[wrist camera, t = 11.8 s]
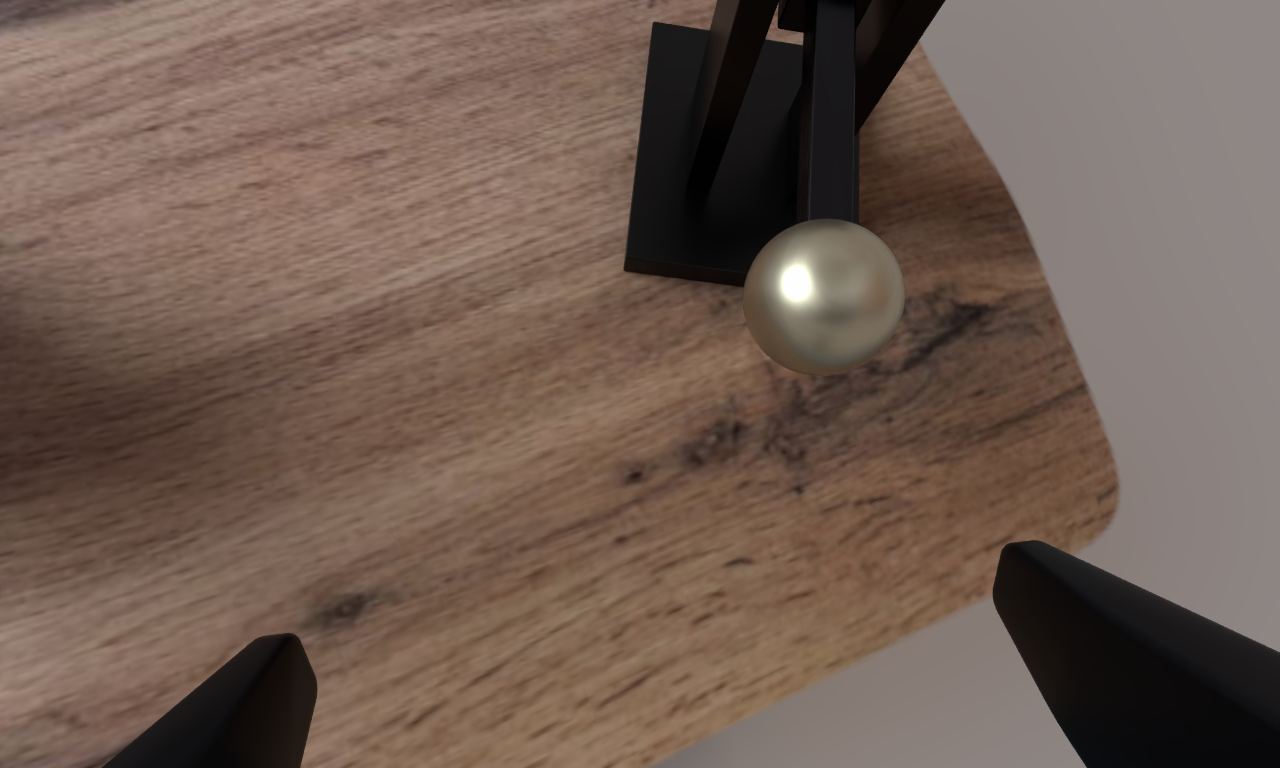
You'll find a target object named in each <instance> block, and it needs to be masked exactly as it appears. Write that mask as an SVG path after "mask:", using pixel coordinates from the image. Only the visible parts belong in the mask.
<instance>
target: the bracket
mask: <svg viewBox="0 0 1280 768" xmlns="http://www.w3.org/2000/svg"><path fill="white" fill-rule="evenodd" d="M778 2H779V0H717V4H716V8H715V12H714V16H713V20H712V24H711V28H710V31H709V30H703V29H697V28H690V27H684V26H678V25H672V24H665V23H659V22H653V26H652V33H651V40H650V48H649V57H648V65H647V74H646V82H645V91H644V99H643V108H642V116H641V125H640V133H639V142H638V150H637V159H636V167H635V176H634V185H633V193H632V202H631V210H630V219H629V227H628V236H627V244H626V253H625V261H624V271H630V272H637V273H645V274H652V275H660V276H667V277H675V278H682V279H690V280H697V281H705V282H712V283H720V284H727V285H735V286H742V287H744V285H745V281H746V277H747V274H748V272H749V270H750V267H751V265H752V263H753V261H754V260H755V258H756V256H757V255H758V254H759V252H760V251H761V250H762V249H763V248H764V246H765V245H766V244H767V243H768V242H769V241H770V240H772V239H773V238H774V237H775V236H777V235H778V234H779V233H781V232H782V231H784V230H786V229H788V228H790V227H792V226H794V225H796V203H797V179H798V155H799V132H800V108H801V85H802V61H803V45H797V44H791V43H785V42H779V41H772V40H766V39H765V38H766V35H767V32H768V30H769V27H770V24H771V21H772V19H773V16H774V13H775V10H776V8H777V5H778ZM944 2H945V0H872V1H871V3H870V5H869V7H868V9H867V11H866V13H865V14H864V16H863V18H862V20H861V22H860V24H859V26H858V27H857V29H856V55H855V115H854V176H853V223H854V224H857V225H859V130H860V128H861V127H862V125H863V124H864V122H865V121H866V119H867V118H868V116H869V115H870V113H871V112H872V110H873V109H874V107H875V106H876V104H877V103H878V101H879V100H880V98H881V97H882V95H883V94H884V92H885V91H886V89H887V88H888V86H889V85H890V83H891V82H892V80H893V79H894V77H895V76H896V74H897V73H898V71H899V70H900V68H901V67H902V65H903V64H904V62H905V61H906V59H907V58H908V56H909V55H910V53H911V52H912V50H913V48H914V47H915V45H916V44H917V42H918V41H919V39H920V38H921V36H922V35H923V33H924V32H925V30H926V29H927V27H928V26H929V24H930V23H931V21H932V20H933V18H934V17H935V15H936V14H937V12H938V11H939V9H940V8H941V6H942V5H943V3H944Z"/></svg>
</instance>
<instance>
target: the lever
mask: <svg viewBox="0 0 1280 768" xmlns="http://www.w3.org/2000/svg"><path fill="white" fill-rule="evenodd" d="M871 1H872V0H779V7H778V28H779V29H784V30H790V31H796V32H802V33H804V37H803V61H802V85H801V108H800V132H799V155H798V179H797V203H796V225H794V226H792V227H790V228H788V229H786V230H784V231H782V232H781V233H779V234H778V235H777V236H775V237H774V238H773V239H772V240H770V241H769V242H768V243H767V244H766V245H765V246H764V248H763V249H762V250H761V251H760V252H759V254H758V255H757V256H756V258H755V260H754V261H753V263H752V265H751V267H750V270H749V272H748V274H747V277H746V281H745V285H744V293H743V309H744V315H745V319H746V323H747V326H748V328H749V331H750V333H751V335H752V337H753V338H754V340H755V342H756V343H757V344H758V346H759V347H760V348H761V350H762V351H763V352H764V353H765V354H766V355H767V356H769V357H770V358H771V359H772V360H774V361H775V362H776V363H778V364H780V365H781V366H783V367H785V368H787V369H789V370H792V371H795V372H798V373H802V374H808V375H816V376H826V375H835V374H840V373H844V372H847V371H850V370H853V369H855V368H857V367H859V366H861V365H863V364H865V363H866V362H868V361H869V360H871V359H872V358H873V357H875V356H876V355H877V354H878V353H879V352H880V351H881V350H882V349H883V348H884V347H885V346H886V345H887V343H888V342H889V341H890V339H891V338H892V336H893V335H894V333H895V331H896V329H897V328H898V325H899V322H900V320H901V317H902V314H903V309H904V301H905V286H904V280H903V275H902V272H901V269H900V266H899V264H898V262H897V260H896V258H895V256H894V254H893V253H892V251H891V250H890V249H889V247H888V246H887V245H886V244H885V243H884V242H883V241H882V240H881V239H880V238H879V237H878V236H876V235H875V234H874V233H872V232H871V231H869V230H868V229H866V228H864V227H862V226H860V225H857V224H854V223H853V176H854V115H855V55H856V29H857V27H858V26H859V24H860V22H861V20H862V18H863V16H864V14H865V13H866V11H867V9H868V7H869V5H870V3H871Z"/></svg>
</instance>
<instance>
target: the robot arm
mask: <svg viewBox="0 0 1280 768" xmlns="http://www.w3.org/2000/svg"><path fill="white" fill-rule="evenodd" d="M993 601H994V604H995V607H996V610H997V612H998V614H999V615H1000V618H1001V619H1002V621H1003V623H1004V625H1005V627H1006V629H1007V631H1008V632H1009V634H1010V636H1011V638H1012V640H1013V642H1014V644H1015V645H1016V647H1017V649H1018V651H1019V653H1020V655H1021V657H1022V658H1023V660H1024V662H1025V664H1026V666H1027V667H1028V669H1029V671H1030V673H1031V675H1032V677H1033V679H1034V681H1035V683H1036V684H1037V686H1038V688H1039V690H1040V692H1041V694H1042V696H1043V697H1044V699H1045V701H1046V703H1047V705H1048V707H1049V708H1050V710H1051V712H1052V714H1053V715H1054V717H1055V719H1056V720H1057V722H1058V724H1059V725H1060V727H1061V728H1062V730H1063V732H1064V733H1065V735H1066V736H1067V738H1068V740H1069V741H1070V743H1071V744H1072V746H1073V747H1074V749H1075V750H1076V752H1077V753H1078V755H1079V756H1080V758H1081V760H1082V761H1083V763H1084V764H1085V766H1086V767H1087V768H1280V652H1278V651H1276V650H1273V649H1271V648H1269V647H1267V646H1265V645H1263V644H1261V643H1258V642H1256V641H1254V640H1252V639H1250V638H1248V637H1245V636H1243V635H1241V634H1239V633H1237V632H1235V631H1233V630H1230V629H1228V628H1226V627H1224V626H1222V625H1220V624H1218V623H1216V622H1213V621H1211V620H1209V619H1207V618H1205V617H1203V616H1200V615H1198V614H1196V613H1194V612H1192V611H1190V610H1188V609H1186V608H1183V607H1181V606H1179V605H1177V604H1175V603H1173V602H1171V601H1168V600H1166V599H1164V598H1162V597H1160V596H1158V595H1155V594H1153V593H1151V592H1149V591H1147V590H1145V589H1142V588H1141V587H1138V586H1136V585H1134V584H1132V583H1130V582H1128V581H1126V580H1123V579H1121V578H1119V577H1117V576H1115V575H1113V574H1111V573H1108V572H1106V571H1104V570H1102V569H1100V568H1098V567H1096V566H1093V565H1091V564H1089V563H1087V562H1085V561H1083V560H1080V559H1078V558H1076V557H1074V556H1072V555H1070V554H1068V553H1066V552H1063V551H1061V550H1059V549H1057V548H1055V547H1053V546H1051V545H1048V544H1046V543H1044V542H1041V541H1037V540H1031V541H1023V542H1014V543H1009V544H1007V545H1006V546H1005V547H1004V548H1003V549H1002V551H1001V555H1000V559H999V564H998V568H997V573H996V577H995V581H994V586H993ZM316 698H317V681H316V677H315V674H314V672H313V669H312V667H311V665H310V662H309V660H308V657H307V655H306V653H305V650H304V648H303V646H302V643H301V641H300V639H299V637H297V636H296V635H295V634H293V633H283V634H275V635H267V636H262V637H259V638H257V639H255V640H254V641H252V642H251V643H250V644H249V645H247V646H246V647H245V648H244V649H243V650H241V651H240V652H239V653H238V654H237V655H235V656H234V657H233V658H232V659H231V660H230V661H228V662H227V663H226V664H225V665H224V666H222V667H221V668H220V669H219V670H218V671H216V672H215V673H214V674H213V675H212V676H210V677H209V678H208V679H207V680H206V681H204V682H203V683H202V684H201V685H200V686H198V687H197V688H196V689H195V690H194V691H193V692H191V693H190V694H189V695H188V696H187V697H185V698H184V699H183V700H182V701H181V702H179V703H178V704H177V705H176V706H175V707H173V708H172V709H171V710H170V711H169V712H167V713H166V714H165V715H164V716H163V717H161V718H160V719H159V720H158V721H157V722H155V723H154V724H153V725H152V726H151V727H150V728H148V729H147V730H146V731H145V732H144V733H142V734H141V735H140V736H139V737H138V738H136V739H135V740H134V741H133V742H132V743H130V744H129V745H128V746H127V747H126V748H124V749H123V750H122V751H121V752H120V753H118V754H117V755H116V756H115V757H114V758H113V759H111V760H110V761H109V762H108V763H107V764H105V765H104V766H103V767H102V768H300V766H301V762H302V758H303V754H304V750H305V745H306V741H307V737H308V733H309V728H310V724H311V720H312V716H313V712H314V707H315V703H316Z"/></svg>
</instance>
